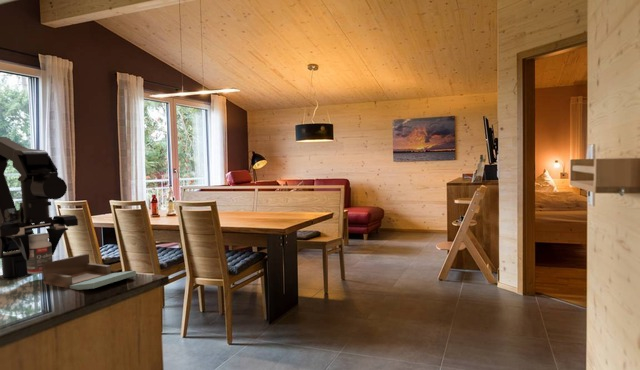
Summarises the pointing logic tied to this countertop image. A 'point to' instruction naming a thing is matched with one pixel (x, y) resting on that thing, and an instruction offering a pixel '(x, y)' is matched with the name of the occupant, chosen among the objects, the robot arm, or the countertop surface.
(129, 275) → the pale green rectangular panel
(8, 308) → the countertop surface
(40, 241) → the pill bottle
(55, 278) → the wooden open crate
